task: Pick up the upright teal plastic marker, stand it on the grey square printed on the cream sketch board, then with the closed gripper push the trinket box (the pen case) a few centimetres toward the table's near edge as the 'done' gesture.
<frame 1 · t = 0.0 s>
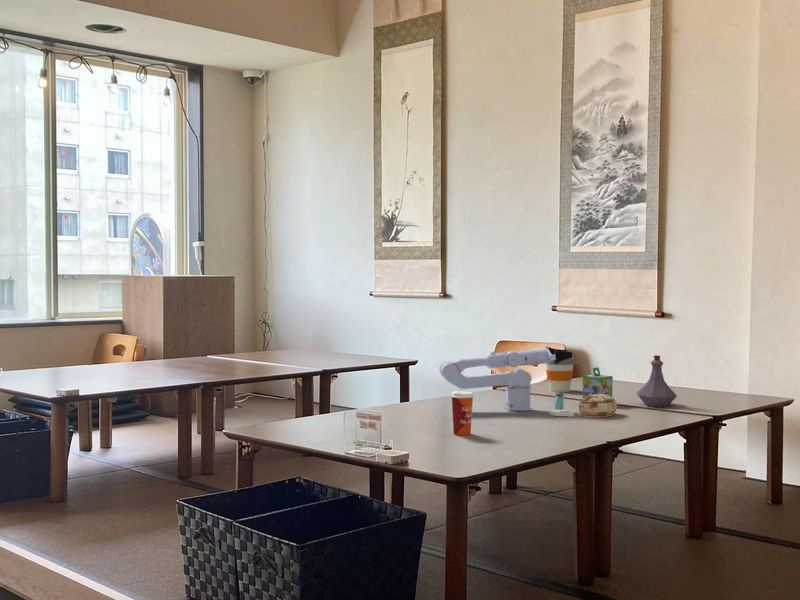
hand: (569, 353, 358), 22 cm above the table, tool horizontal, fingers open, 7 cm apart
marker: (559, 411, 354), on the table
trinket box: (597, 415, 346), on the table
flask: (656, 405, 370), on the table
paper cup: (462, 434, 307), on the table
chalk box: (597, 404, 372), on the table
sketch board: (561, 414, 346), on the table
reusable coffee cup: (559, 391, 410), on the table
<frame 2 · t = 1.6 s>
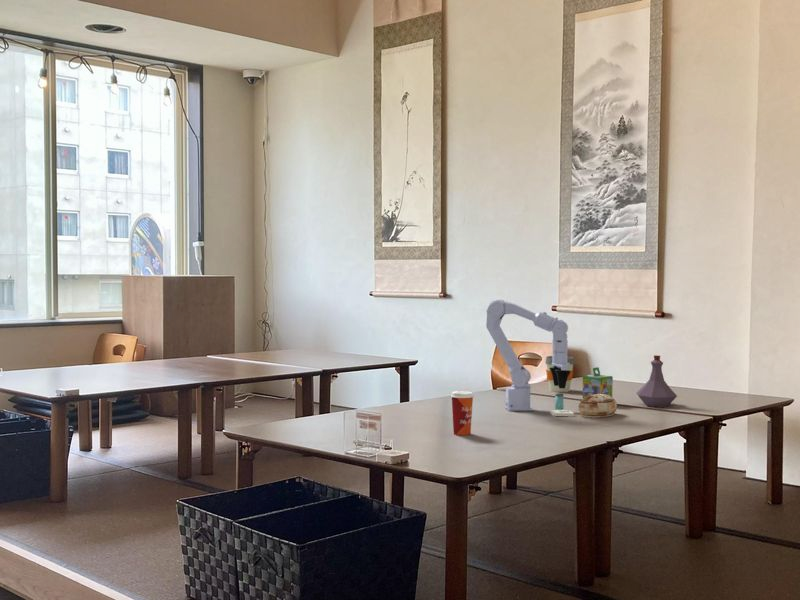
hand: (559, 387, 353), 9 cm above the table, tool pointing down, fingers open, 7 cm apart
nothing on the table moved.
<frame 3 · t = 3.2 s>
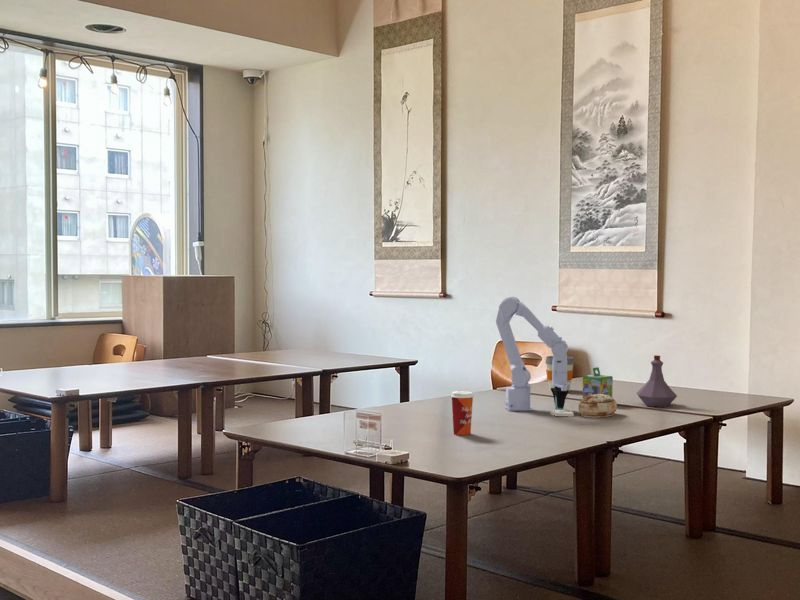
hand: (559, 407, 354), 2 cm above the table, tool pointing down, fingers closed on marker, 3 cm apart
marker: (559, 411, 354), on the table, touching gripper
everything else where it was.
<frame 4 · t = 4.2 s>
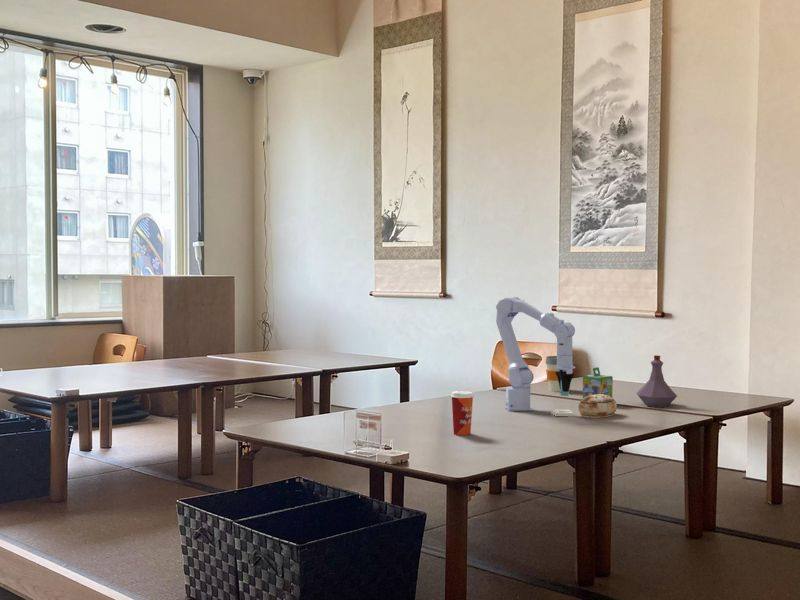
hand: (564, 390, 346), 9 cm above the table, tool pointing down, fingers closed on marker, 3 cm apart
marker: (564, 395, 346), point 7 cm above the table, touching gripper
everything else where it was.
when the fingers open (4 cm above the table, at t = 5.5 s): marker stays where it is, resting on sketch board.
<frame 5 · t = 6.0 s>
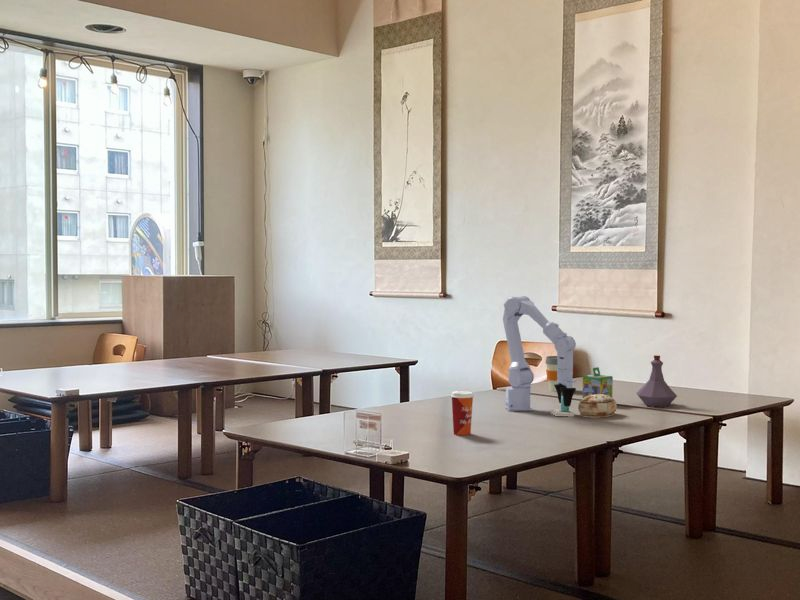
hand: (564, 404, 345), 4 cm above the table, tool pointing down, fingers open, 7 cm apart
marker: (564, 411, 346), point 1 cm above the table, touching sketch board
everything else where it was.
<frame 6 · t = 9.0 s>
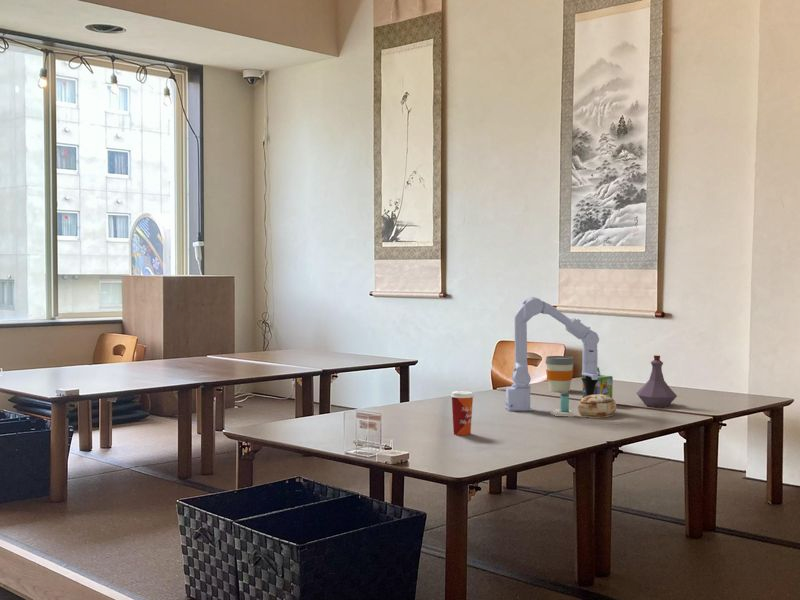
hand: (589, 396, 357), 5 cm above the table, tool pointing down, fingers closed
nothing on the table moved.
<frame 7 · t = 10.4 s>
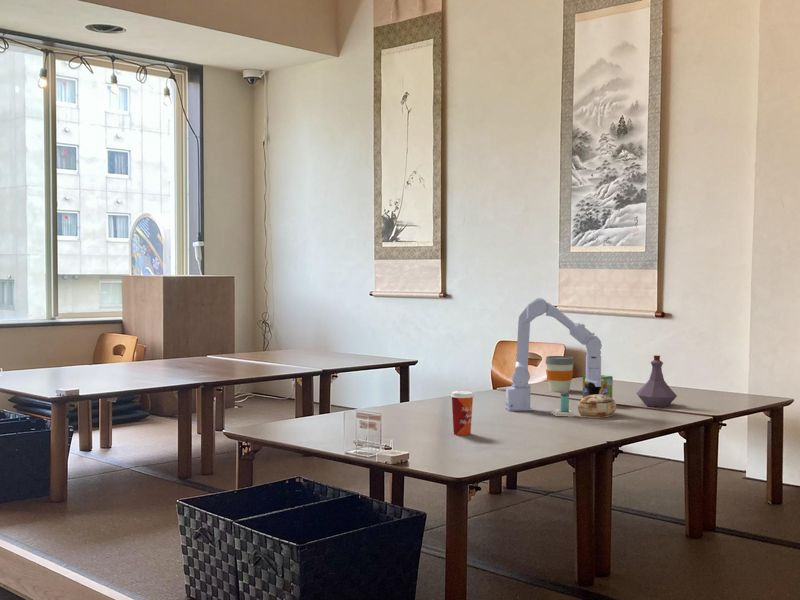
hand: (593, 403, 352), 3 cm above the table, tool pointing down, fingers closed
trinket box: (596, 416, 345), on the table, touching gripper
everything else where it was.
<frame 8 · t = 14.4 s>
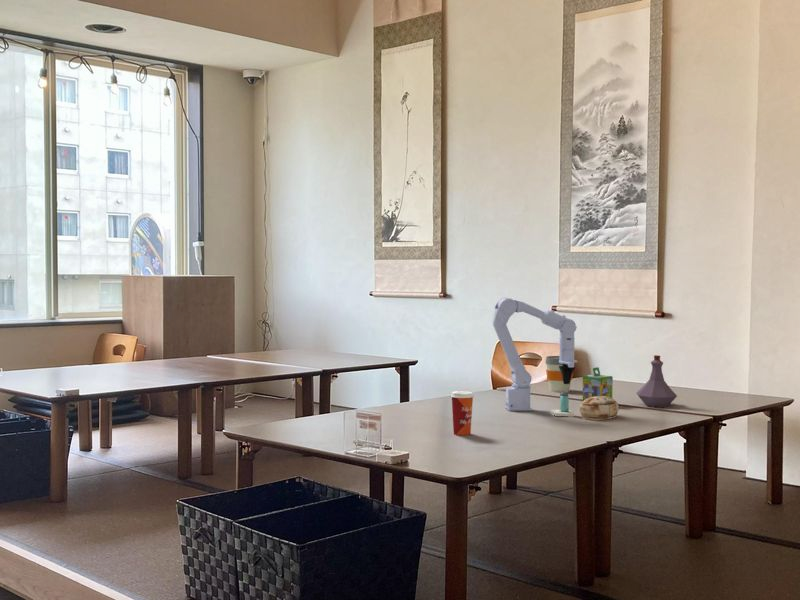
hand: (566, 383, 358), 10 cm above the table, tool pointing down, fingers closed
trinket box: (599, 418, 341), on the table
everything else where it was.
at the end: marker 0.6 cm off-centre on the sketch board, point 1.3 cm above the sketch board's base; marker tilted 2°; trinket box moved 4.9 cm from its start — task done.
